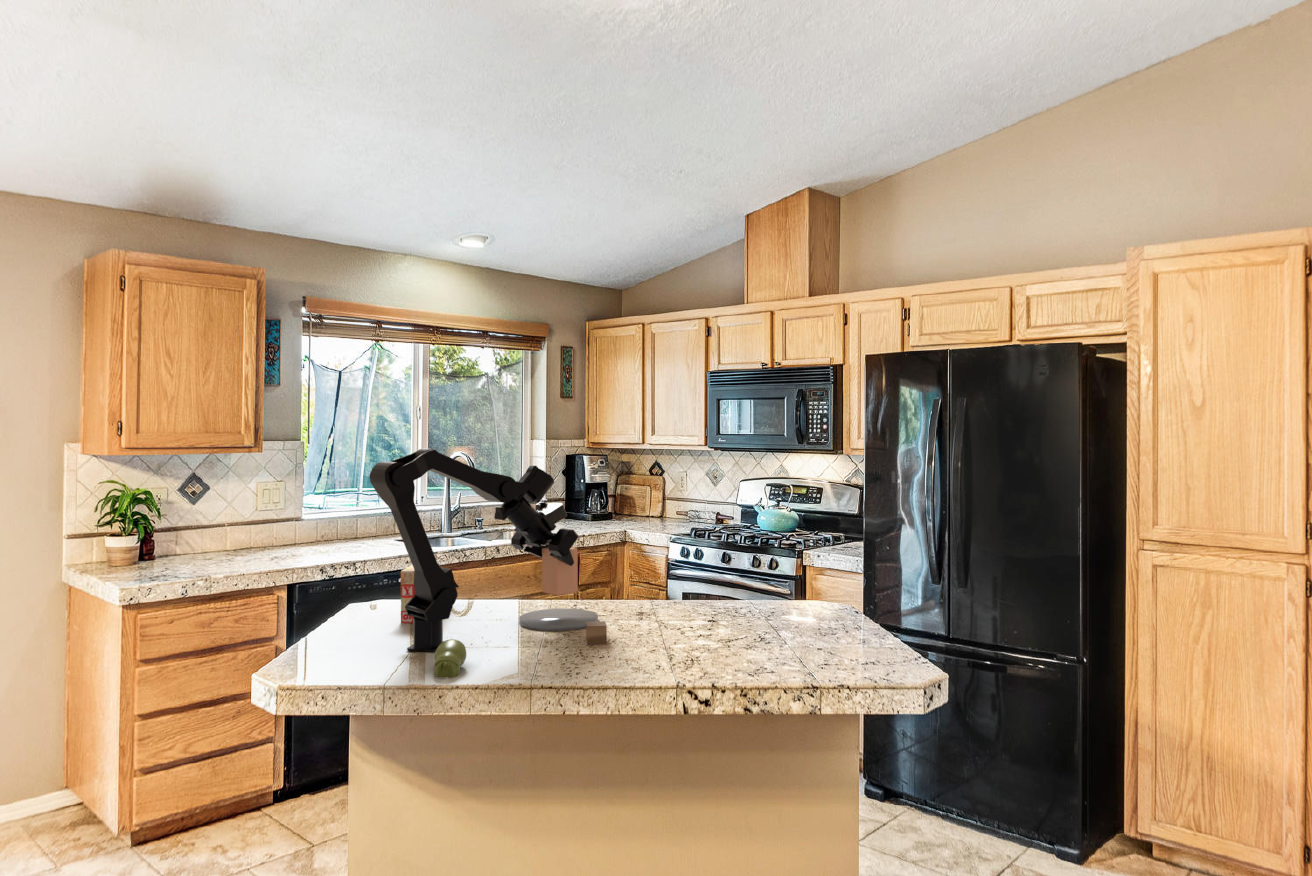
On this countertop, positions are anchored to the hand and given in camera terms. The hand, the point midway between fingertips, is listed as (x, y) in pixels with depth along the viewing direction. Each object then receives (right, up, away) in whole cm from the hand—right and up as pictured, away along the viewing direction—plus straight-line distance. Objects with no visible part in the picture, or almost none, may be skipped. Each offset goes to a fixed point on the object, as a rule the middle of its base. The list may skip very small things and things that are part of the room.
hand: (564, 562), depth 194 cm
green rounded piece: (-17, -14, -41) cm, 46 cm away
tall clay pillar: (-1, -7, -1) cm, 7 cm away
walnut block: (+9, -14, -20) cm, 26 cm away
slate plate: (-1, -13, -1) cm, 14 cm away
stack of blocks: (-35, -14, +9) cm, 38 cm away
